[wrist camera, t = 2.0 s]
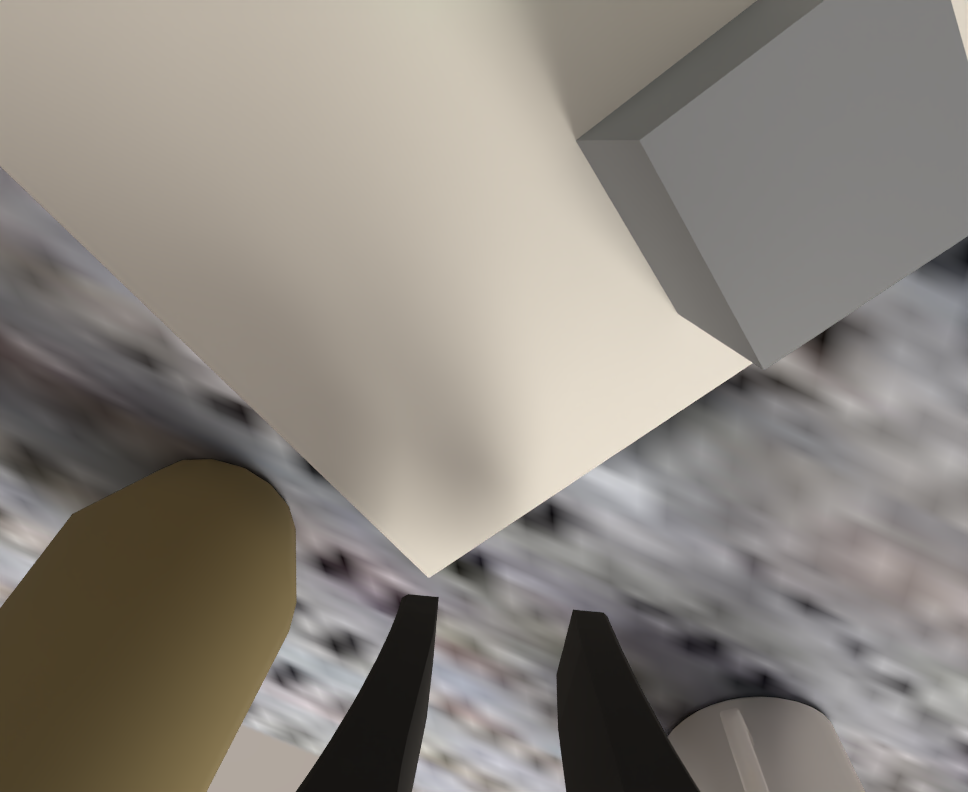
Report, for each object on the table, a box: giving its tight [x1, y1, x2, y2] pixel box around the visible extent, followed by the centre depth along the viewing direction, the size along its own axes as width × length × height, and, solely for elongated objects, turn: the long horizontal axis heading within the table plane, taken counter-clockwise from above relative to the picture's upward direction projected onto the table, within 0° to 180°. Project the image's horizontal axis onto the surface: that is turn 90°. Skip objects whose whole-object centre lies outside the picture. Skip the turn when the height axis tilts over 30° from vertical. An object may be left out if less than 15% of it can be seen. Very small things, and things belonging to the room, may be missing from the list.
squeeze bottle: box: [0, 459, 296, 792], centre depth 15 cm, size 8×8×18 cm
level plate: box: [0, 0, 968, 578], centre depth 9 cm, size 13×20×4 cm, turn 126°
